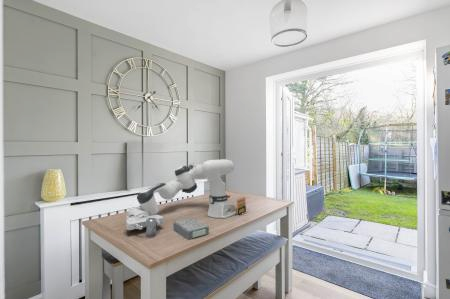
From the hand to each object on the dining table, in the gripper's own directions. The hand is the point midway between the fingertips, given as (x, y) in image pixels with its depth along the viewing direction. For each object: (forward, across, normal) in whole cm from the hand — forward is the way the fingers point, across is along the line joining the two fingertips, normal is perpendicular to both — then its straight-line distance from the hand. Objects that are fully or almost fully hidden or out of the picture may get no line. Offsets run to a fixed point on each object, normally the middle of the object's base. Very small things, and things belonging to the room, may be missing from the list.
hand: (150, 226), depth 127 cm
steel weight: (+1, 0, -5) cm, 5 cm away
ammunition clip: (+1, -66, -5) cm, 66 cm away
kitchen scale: (+9, -20, -5) cm, 23 cm away
